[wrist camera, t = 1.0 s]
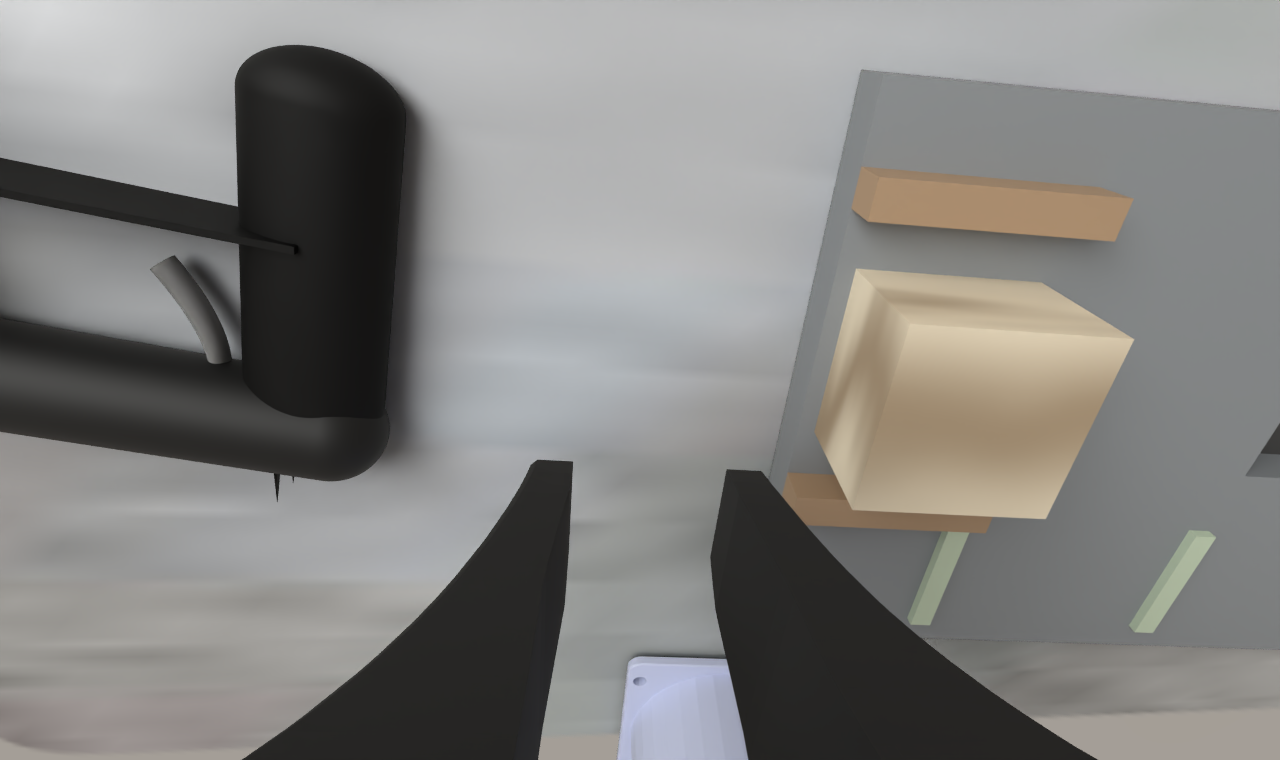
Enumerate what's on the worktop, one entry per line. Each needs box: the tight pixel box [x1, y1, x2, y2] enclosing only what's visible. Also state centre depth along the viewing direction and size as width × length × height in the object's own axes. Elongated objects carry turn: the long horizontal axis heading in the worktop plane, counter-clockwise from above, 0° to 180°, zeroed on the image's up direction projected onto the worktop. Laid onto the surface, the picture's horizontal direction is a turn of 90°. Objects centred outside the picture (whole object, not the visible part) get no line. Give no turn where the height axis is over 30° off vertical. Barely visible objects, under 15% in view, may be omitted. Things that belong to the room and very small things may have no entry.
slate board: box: [769, 70, 1280, 650], centre depth 20 cm, size 18×23×3 cm
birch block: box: [814, 269, 1134, 519], centre depth 17 cm, size 5×5×4 cm
